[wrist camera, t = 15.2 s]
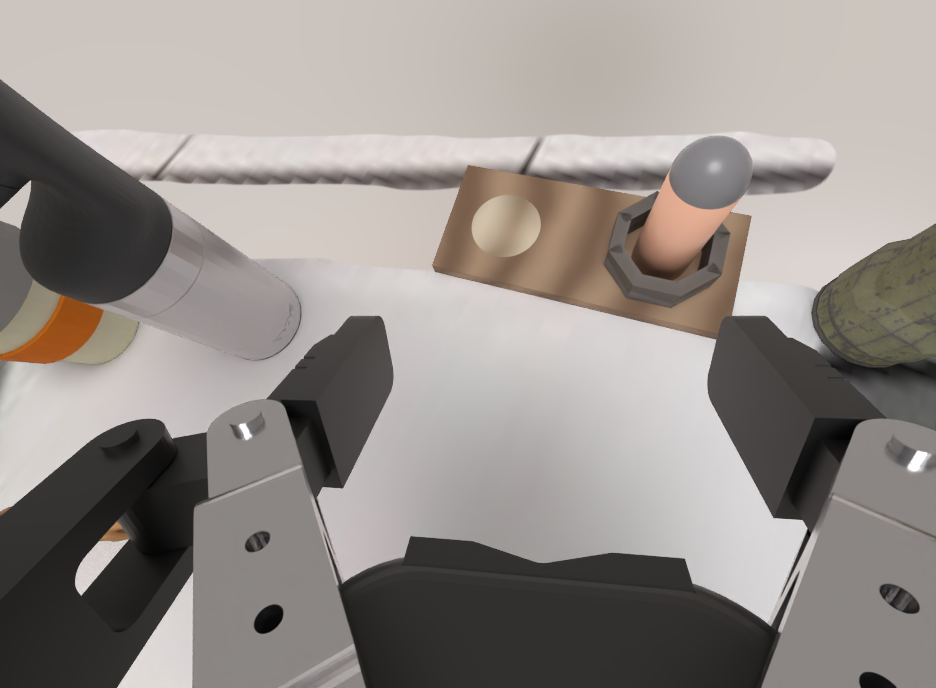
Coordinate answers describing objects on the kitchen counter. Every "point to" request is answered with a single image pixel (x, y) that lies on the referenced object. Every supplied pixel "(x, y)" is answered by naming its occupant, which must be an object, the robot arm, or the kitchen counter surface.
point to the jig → (584, 250)
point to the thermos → (883, 305)
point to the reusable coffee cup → (51, 318)
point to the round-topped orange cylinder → (692, 205)
